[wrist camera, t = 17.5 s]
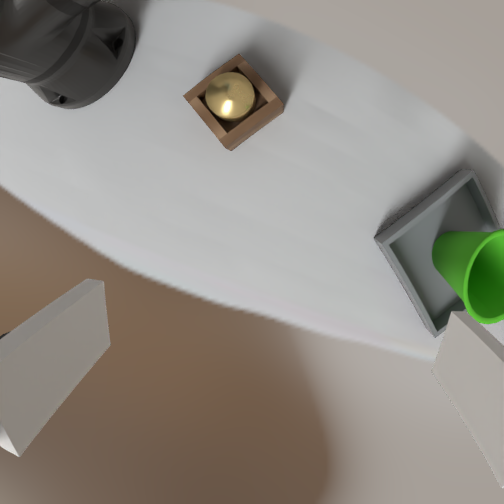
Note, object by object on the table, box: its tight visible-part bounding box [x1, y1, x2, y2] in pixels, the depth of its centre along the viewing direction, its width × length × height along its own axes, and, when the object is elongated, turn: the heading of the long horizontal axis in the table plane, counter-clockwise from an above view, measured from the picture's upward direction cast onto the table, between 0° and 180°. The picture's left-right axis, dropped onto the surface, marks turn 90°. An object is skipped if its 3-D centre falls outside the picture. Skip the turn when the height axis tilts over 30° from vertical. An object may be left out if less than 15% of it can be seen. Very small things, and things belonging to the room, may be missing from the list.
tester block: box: [183, 54, 284, 151], centre depth 31 cm, size 7×7×4 cm
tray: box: [374, 170, 500, 338], centre depth 33 cm, size 14×14×3 cm
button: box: [205, 72, 256, 122], centre depth 28 cm, size 4×4×3 cm
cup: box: [432, 229, 504, 324], centre depth 28 cm, size 9×9×11 cm
